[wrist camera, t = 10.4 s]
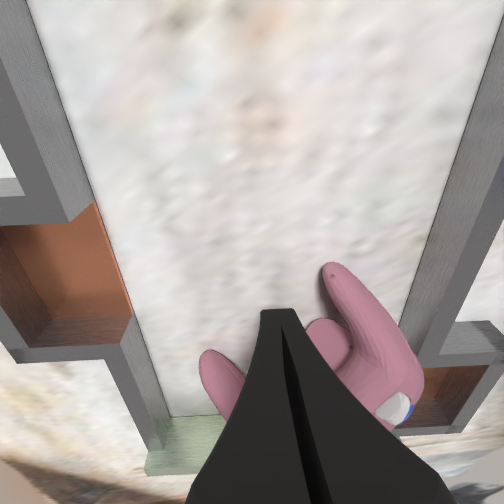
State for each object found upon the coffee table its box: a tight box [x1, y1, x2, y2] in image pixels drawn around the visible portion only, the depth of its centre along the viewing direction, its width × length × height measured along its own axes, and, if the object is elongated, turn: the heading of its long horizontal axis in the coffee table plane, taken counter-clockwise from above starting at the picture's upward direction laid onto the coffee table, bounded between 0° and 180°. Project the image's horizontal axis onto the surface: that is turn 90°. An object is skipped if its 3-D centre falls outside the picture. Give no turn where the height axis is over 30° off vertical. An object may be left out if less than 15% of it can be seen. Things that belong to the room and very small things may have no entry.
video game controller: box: [199, 262, 424, 432], centre depth 14 cm, size 10×5×7 cm, turn 134°
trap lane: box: [0, 0, 504, 476], centre depth 12 cm, size 24×28×3 cm
